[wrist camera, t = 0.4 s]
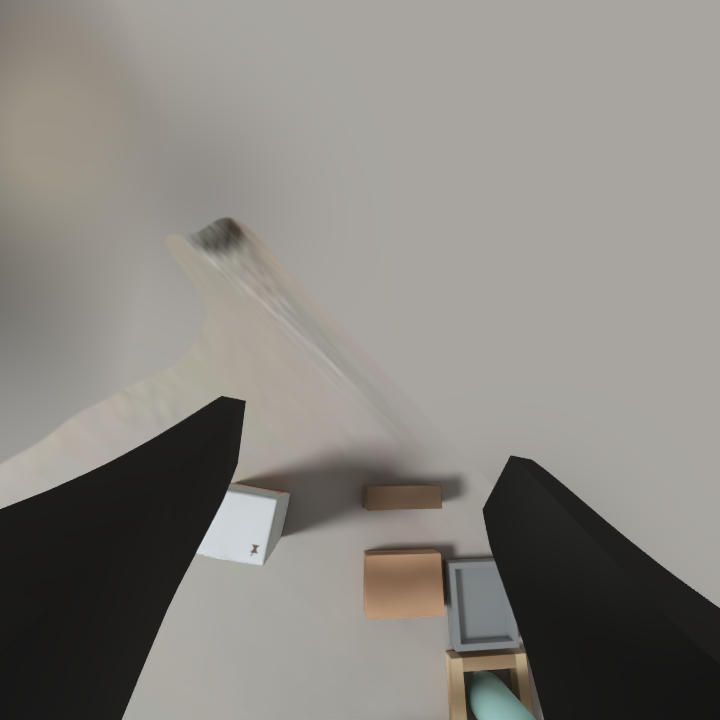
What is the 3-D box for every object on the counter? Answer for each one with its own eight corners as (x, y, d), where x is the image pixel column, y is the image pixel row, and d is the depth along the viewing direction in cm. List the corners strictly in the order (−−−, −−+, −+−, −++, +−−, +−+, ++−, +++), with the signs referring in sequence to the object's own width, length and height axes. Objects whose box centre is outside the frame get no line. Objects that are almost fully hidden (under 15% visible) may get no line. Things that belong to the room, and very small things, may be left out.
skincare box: (291, 491, 36) (281, 499, 25) (281, 538, 35) (264, 569, 23) (230, 480, 36) (191, 482, 24) (217, 527, 34) (169, 552, 23)
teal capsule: (507, 717, 32) (548, 769, 27) (468, 721, 32) (502, 774, 26) (502, 669, 33) (540, 708, 28) (464, 672, 33) (495, 712, 27)
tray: (511, 640, 34) (519, 647, 33) (450, 644, 34) (456, 651, 32) (501, 557, 36) (509, 560, 35) (444, 559, 36) (449, 563, 34)
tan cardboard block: (435, 606, 35) (444, 615, 32) (363, 609, 34) (367, 619, 32) (432, 548, 36) (440, 553, 34) (363, 550, 35) (366, 555, 33)
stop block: (430, 505, 37) (442, 508, 34) (362, 506, 36) (367, 510, 33) (429, 484, 38) (440, 485, 34) (362, 485, 37) (367, 486, 34)
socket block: (528, 740, 32) (538, 752, 31) (452, 748, 31) (458, 761, 30) (516, 646, 34) (525, 653, 33) (445, 651, 33) (451, 658, 32)
